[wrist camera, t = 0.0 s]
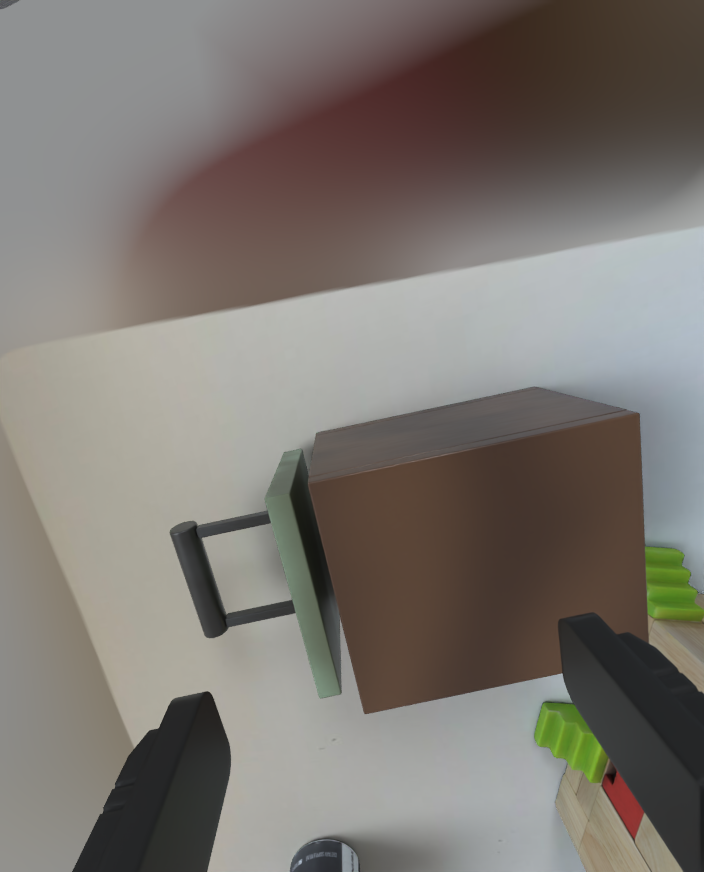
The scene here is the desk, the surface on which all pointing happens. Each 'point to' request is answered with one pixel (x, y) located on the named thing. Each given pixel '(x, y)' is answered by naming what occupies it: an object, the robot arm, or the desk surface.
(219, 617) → the drawer
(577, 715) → the block set
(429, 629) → the cabinet
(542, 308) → the desk surface
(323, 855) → the pill bottle
